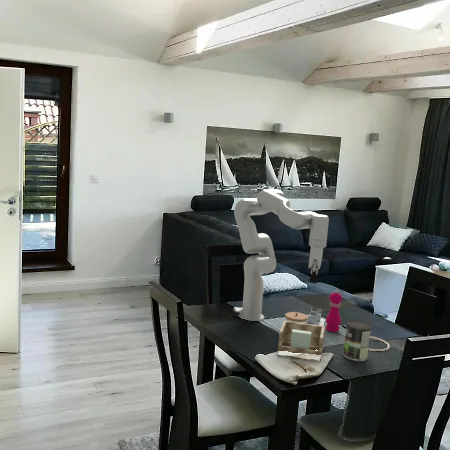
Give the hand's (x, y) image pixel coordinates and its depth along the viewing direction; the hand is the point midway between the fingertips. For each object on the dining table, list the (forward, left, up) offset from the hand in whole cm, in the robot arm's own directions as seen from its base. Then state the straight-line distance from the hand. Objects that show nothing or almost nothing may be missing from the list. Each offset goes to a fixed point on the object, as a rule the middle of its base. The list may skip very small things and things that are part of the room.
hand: (314, 280), depth 244 cm
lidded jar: (-7, +10, -28) cm, 31 cm away
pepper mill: (+10, +20, -28) cm, 36 cm away
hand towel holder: (+26, +9, -29) cm, 40 cm away
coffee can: (+21, -10, -28) cm, 37 cm away
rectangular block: (-2, -17, -27) cm, 32 cm away
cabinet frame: (-2, -14, -28) cm, 32 cm away
